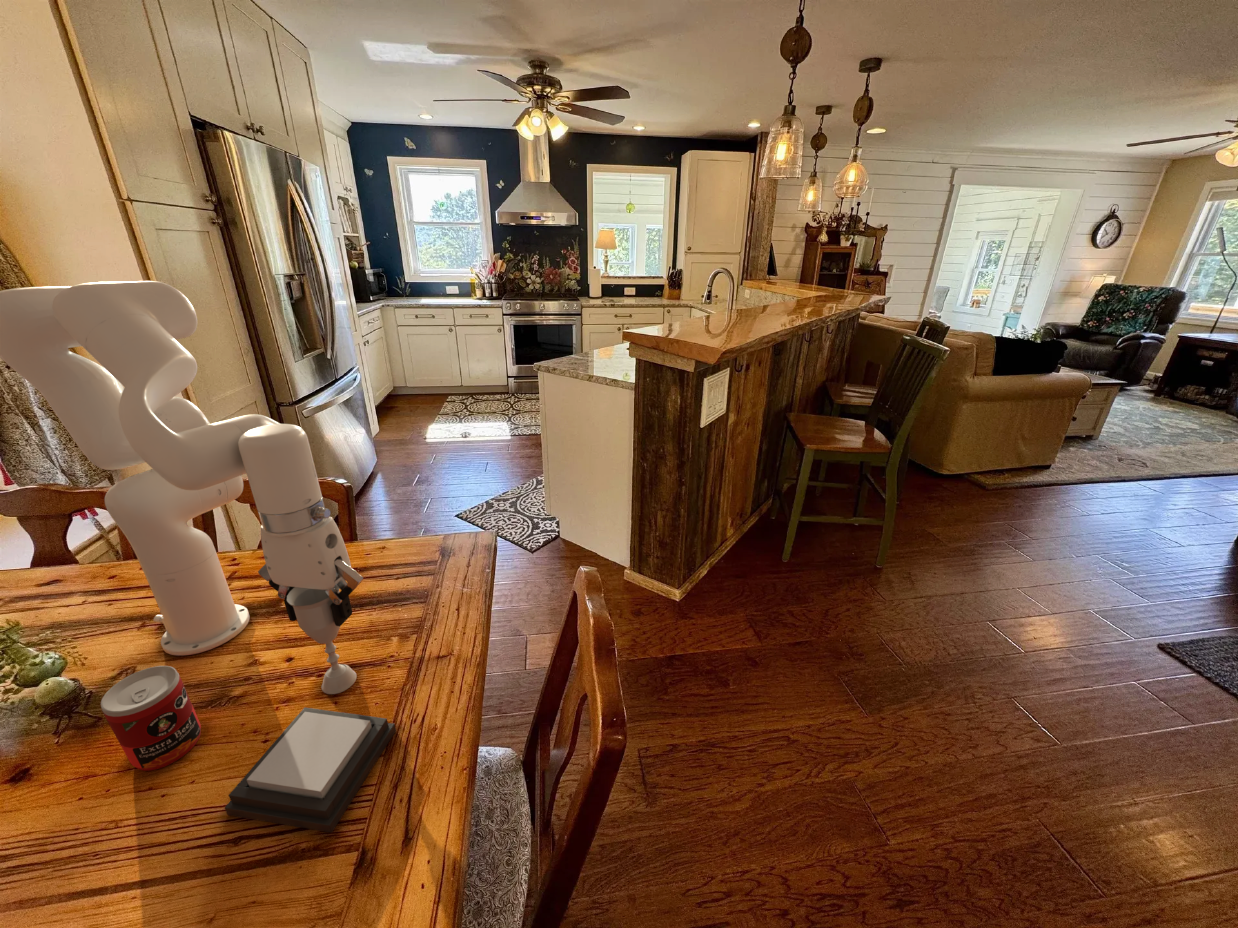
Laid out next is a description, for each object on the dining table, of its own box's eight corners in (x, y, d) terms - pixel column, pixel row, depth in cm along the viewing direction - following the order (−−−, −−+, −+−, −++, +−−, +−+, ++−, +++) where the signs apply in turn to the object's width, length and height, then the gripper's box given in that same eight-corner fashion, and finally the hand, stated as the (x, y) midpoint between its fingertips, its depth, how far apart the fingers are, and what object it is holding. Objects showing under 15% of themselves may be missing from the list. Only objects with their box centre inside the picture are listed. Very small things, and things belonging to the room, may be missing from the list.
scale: (227, 814, 61) (220, 798, 59) (308, 718, 73) (303, 703, 72) (331, 832, 59) (326, 816, 58) (396, 730, 72) (392, 715, 70)
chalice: (341, 703, 76) (315, 609, 69) (303, 695, 77) (274, 602, 70) (372, 667, 82) (351, 578, 76) (337, 661, 84) (313, 572, 77)
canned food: (144, 783, 64) (111, 723, 60) (122, 753, 68) (90, 693, 64) (213, 739, 70) (188, 681, 66) (189, 713, 74) (164, 656, 70)
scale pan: (249, 787, 61) (246, 779, 61) (307, 719, 70) (304, 711, 70) (323, 799, 60) (320, 791, 59) (372, 728, 69) (370, 720, 69)
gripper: (368, 506, 70) (389, 607, 77) (259, 497, 72) (288, 596, 79) (333, 532, 63) (359, 641, 70) (213, 522, 65) (250, 628, 72)
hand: (321, 616), depth 75 cm, fingers closed on chalice, 6 cm apart
